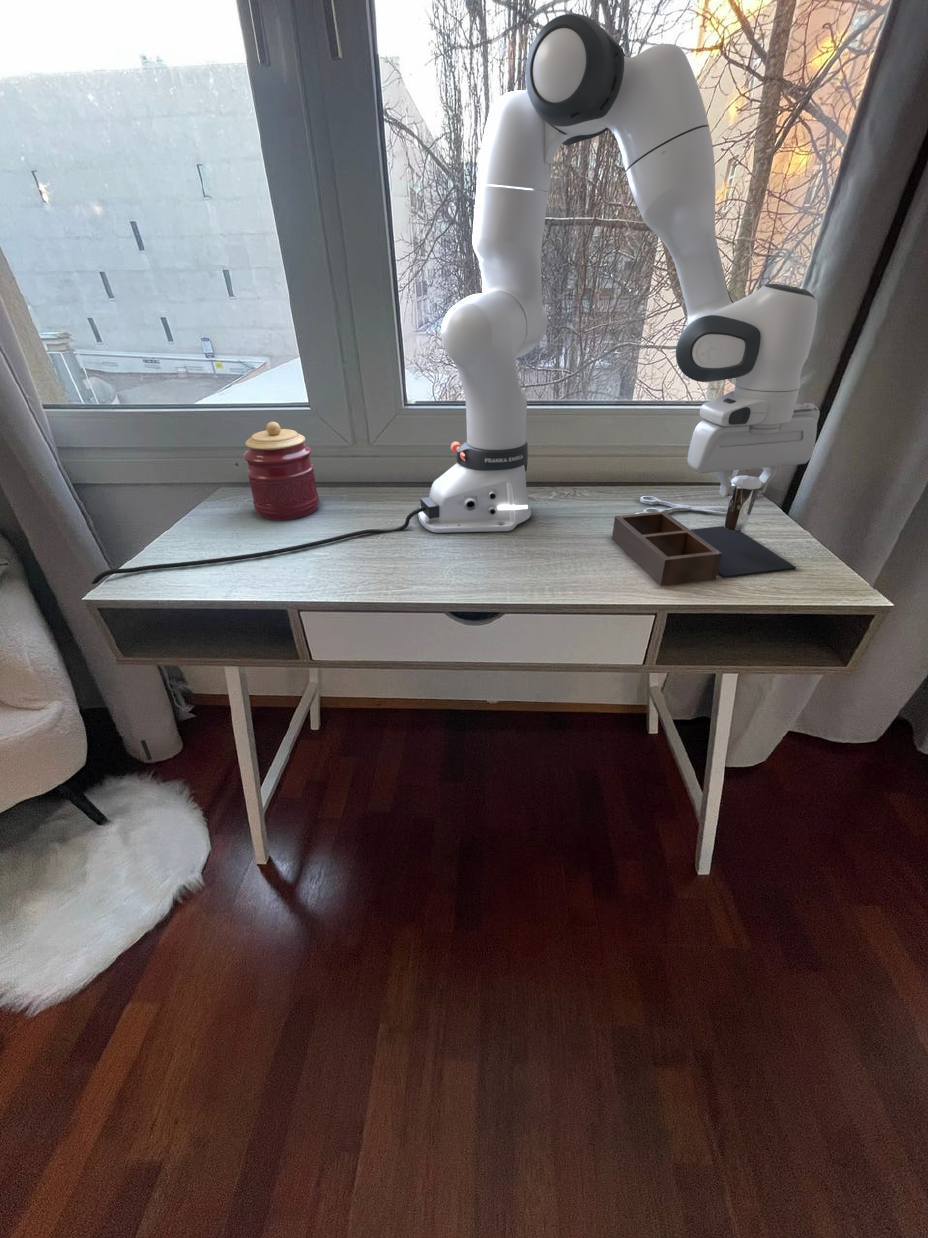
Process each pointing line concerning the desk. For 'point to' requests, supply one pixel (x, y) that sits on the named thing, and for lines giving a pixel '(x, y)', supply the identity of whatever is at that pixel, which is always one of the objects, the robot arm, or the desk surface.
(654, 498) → the scissors
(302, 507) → the kitchen canister
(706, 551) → the caddy
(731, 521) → the milkshake
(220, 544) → the desk surface
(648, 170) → the robot arm
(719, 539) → the mouse pad
